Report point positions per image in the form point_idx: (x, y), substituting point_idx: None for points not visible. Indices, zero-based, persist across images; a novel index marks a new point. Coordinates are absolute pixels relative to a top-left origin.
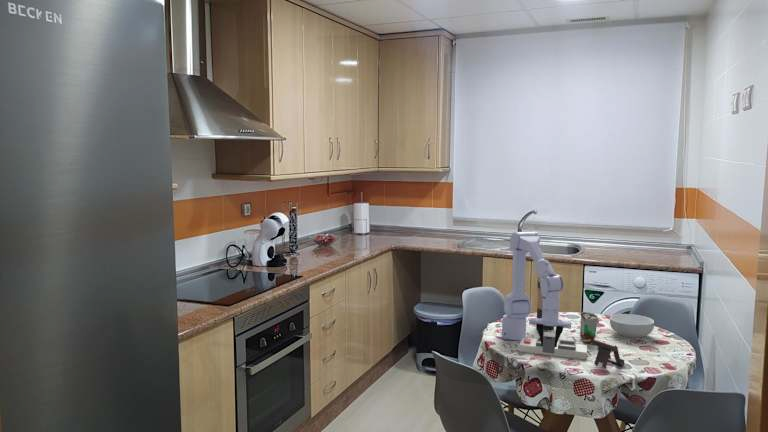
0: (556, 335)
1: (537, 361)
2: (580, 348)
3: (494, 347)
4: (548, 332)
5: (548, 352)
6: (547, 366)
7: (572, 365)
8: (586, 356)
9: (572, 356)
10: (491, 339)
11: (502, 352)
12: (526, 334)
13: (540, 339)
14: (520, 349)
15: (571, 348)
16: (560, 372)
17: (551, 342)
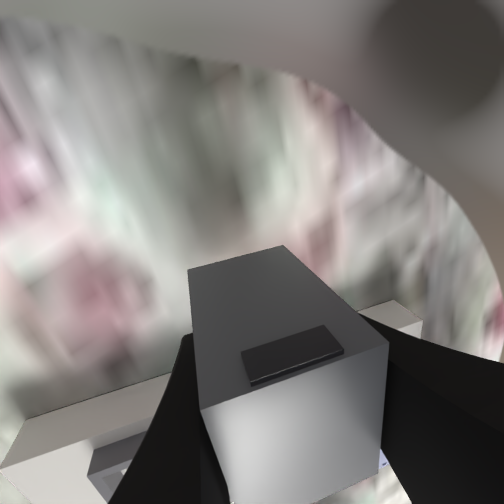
0: (178, 471)
1: (285, 205)
2: (84, 494)
3: (491, 278)
4: (332, 493)
5: (236, 258)
6: (199, 139)
7: (43, 268)
8: (15, 439)
9: (114, 396)
10: (491, 352)
11: (465, 235)
12: (379, 466)
13: (371, 319)
14: (396, 306)
15: (120, 450)
16: (39, 29)
17: (233, 323)
